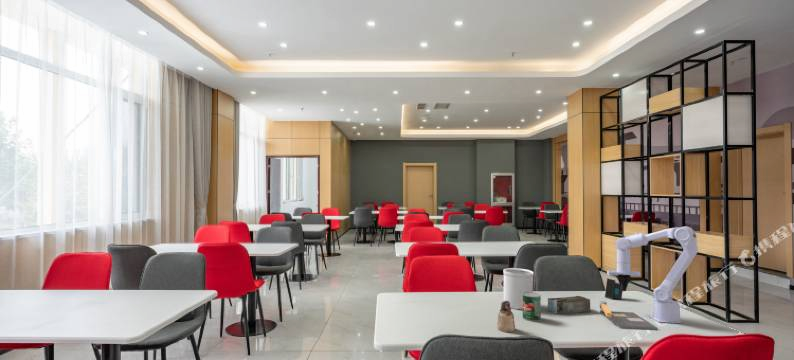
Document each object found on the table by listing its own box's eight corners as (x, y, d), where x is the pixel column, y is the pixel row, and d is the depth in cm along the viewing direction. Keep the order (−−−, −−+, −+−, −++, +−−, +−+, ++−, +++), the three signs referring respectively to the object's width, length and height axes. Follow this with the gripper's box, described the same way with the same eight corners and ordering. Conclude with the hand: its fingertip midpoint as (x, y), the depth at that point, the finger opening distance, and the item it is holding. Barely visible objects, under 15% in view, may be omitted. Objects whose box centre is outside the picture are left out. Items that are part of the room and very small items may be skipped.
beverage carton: (546, 310, 198) (546, 296, 198) (580, 307, 203) (580, 294, 203) (556, 315, 190) (557, 300, 191) (591, 312, 195) (591, 298, 195)
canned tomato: (542, 317, 185) (542, 293, 186) (538, 322, 179) (538, 297, 179) (524, 314, 189) (524, 291, 190) (520, 319, 183) (520, 294, 183)
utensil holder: (529, 302, 211) (529, 268, 211) (536, 310, 196) (536, 274, 196) (500, 301, 212) (501, 267, 213) (505, 309, 197) (505, 273, 198)
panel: (632, 314, 192) (632, 309, 192) (657, 329, 171) (657, 324, 171) (599, 312, 194) (599, 307, 194) (619, 328, 173) (619, 322, 173)
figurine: (511, 326, 173) (512, 298, 173) (517, 332, 166) (517, 303, 166) (495, 326, 173) (495, 298, 173) (500, 332, 166) (500, 302, 166)
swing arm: (599, 306, 194) (599, 301, 194) (606, 307, 193) (606, 301, 194) (605, 317, 178) (605, 311, 178) (613, 318, 177) (613, 312, 177)
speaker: (609, 299, 217) (611, 280, 218) (604, 297, 223) (606, 278, 224) (624, 301, 217) (625, 281, 217) (618, 298, 222) (620, 279, 223)
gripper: (635, 261, 199) (635, 289, 199) (604, 260, 201) (604, 288, 200) (642, 264, 192) (642, 292, 192) (610, 263, 193) (610, 291, 193)
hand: (623, 290), depth 196 cm, fingers closed
